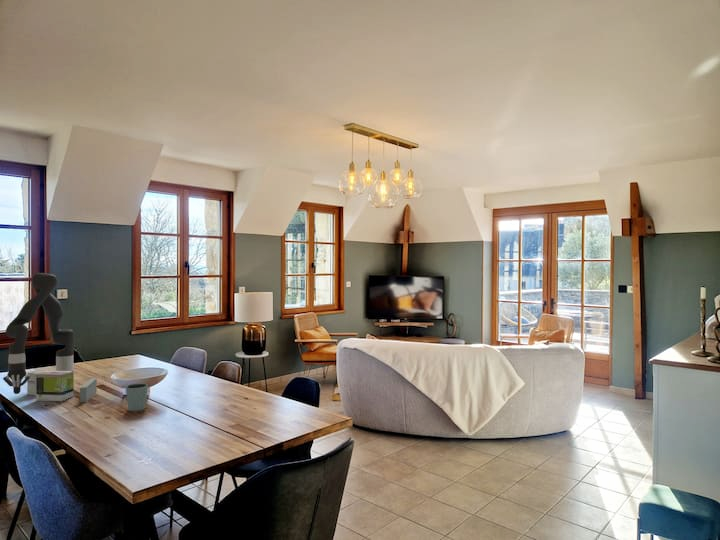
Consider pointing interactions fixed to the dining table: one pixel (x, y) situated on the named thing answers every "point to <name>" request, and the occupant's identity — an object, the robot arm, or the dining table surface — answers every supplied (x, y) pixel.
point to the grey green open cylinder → (136, 396)
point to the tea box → (54, 385)
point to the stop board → (88, 390)
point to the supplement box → (32, 382)
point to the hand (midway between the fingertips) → (16, 393)
